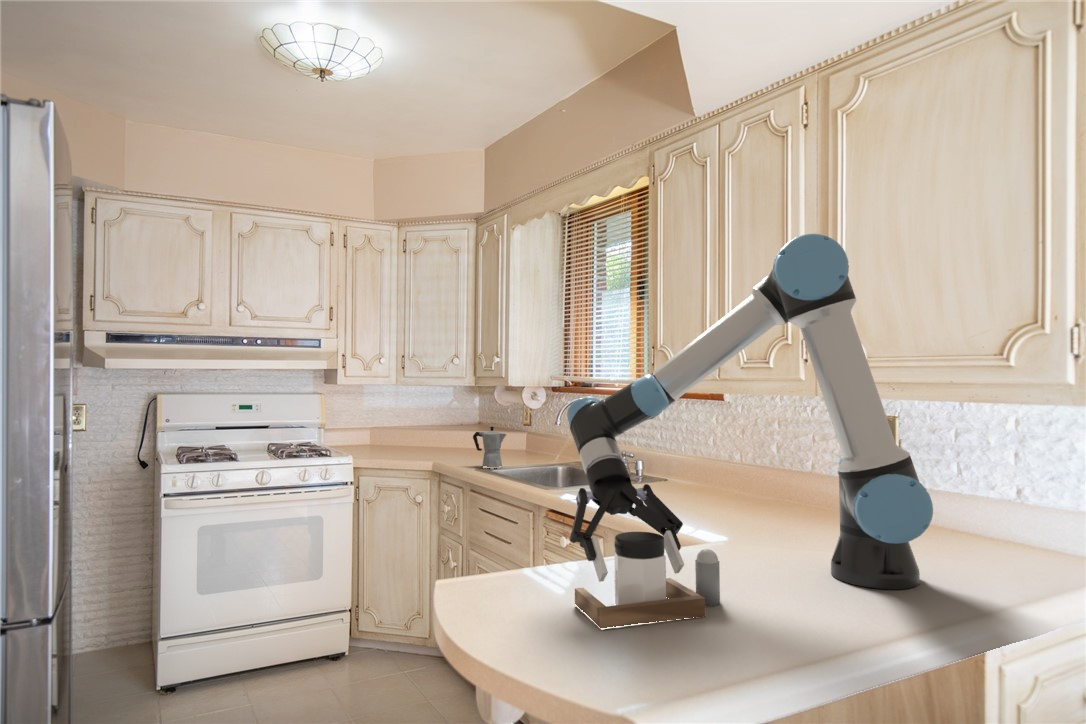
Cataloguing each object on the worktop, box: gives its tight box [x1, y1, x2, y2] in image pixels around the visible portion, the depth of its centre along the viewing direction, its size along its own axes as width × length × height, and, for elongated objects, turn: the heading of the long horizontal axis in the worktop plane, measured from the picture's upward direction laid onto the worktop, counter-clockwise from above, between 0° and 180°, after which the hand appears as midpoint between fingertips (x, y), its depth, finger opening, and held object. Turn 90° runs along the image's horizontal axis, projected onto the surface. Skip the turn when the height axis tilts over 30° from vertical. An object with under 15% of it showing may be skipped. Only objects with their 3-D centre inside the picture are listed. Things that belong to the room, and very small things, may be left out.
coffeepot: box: [472, 426, 507, 467], centre depth 292 cm, size 15×9×18 cm, turn 75°
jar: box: [614, 531, 667, 605], centre depth 111 cm, size 9×8×12 cm
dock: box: [574, 577, 706, 628], centre depth 110 cm, size 12×18×3 cm, turn 108°
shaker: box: [694, 548, 721, 607], centre depth 114 cm, size 4×4×9 cm
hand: (642, 573), depth 109 cm, fingers open, 13 cm apart
